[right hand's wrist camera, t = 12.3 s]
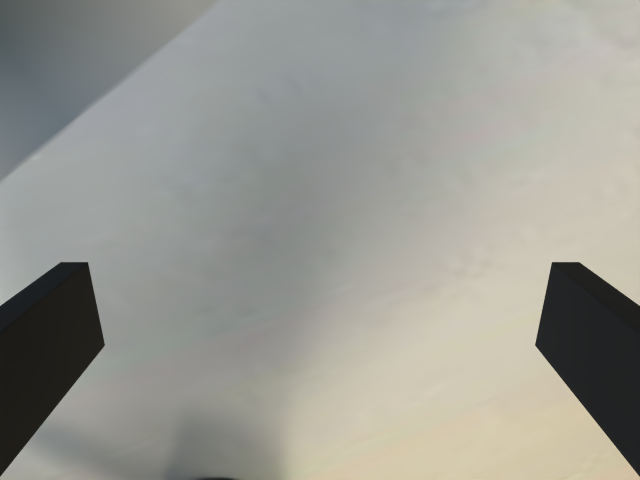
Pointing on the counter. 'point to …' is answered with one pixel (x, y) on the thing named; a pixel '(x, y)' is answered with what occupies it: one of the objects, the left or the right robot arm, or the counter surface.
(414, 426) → the counter surface
